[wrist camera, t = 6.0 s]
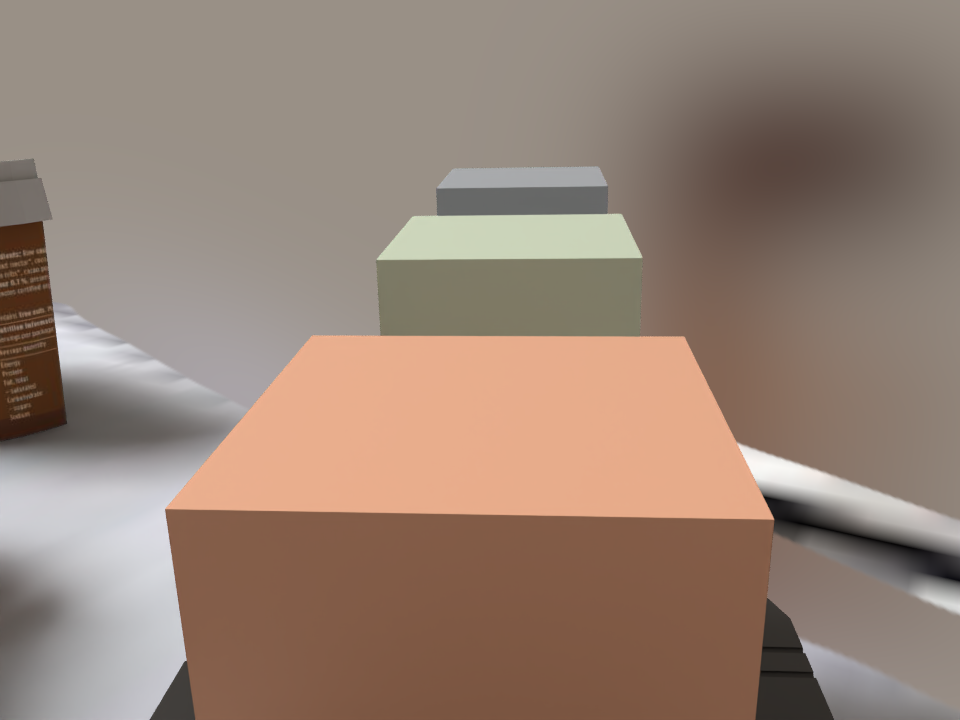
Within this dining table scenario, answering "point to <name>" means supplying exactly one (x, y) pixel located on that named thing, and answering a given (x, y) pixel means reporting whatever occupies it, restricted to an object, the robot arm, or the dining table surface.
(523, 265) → the sage block
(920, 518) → the dining table surface
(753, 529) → the terracotta block
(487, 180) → the slate block
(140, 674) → the dining table surface
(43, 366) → the food container
